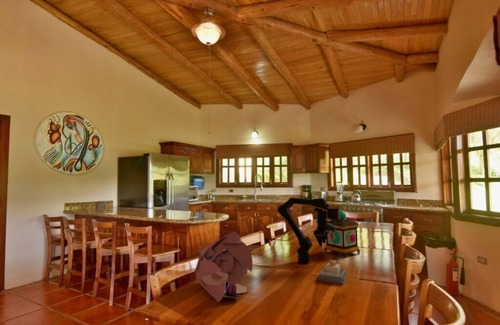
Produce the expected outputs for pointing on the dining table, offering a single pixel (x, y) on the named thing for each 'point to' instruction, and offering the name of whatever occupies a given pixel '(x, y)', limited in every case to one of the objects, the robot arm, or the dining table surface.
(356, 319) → the dining table surface
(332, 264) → the beige cube with knob
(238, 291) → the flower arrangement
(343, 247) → the decorative lantern
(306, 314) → the dining table surface
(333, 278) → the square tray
